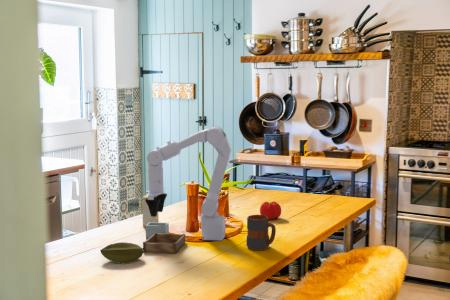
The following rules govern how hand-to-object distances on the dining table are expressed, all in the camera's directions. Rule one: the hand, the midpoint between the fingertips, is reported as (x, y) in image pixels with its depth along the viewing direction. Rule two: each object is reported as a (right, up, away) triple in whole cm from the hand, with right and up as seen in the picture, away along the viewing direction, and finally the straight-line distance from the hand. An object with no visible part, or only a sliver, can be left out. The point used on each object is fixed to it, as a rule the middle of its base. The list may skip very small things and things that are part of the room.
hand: (156, 213), depth 236 cm
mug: (+41, -11, -15) cm, 45 cm away
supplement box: (-5, -7, +21) cm, 23 cm away
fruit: (-9, -14, -27) cm, 32 cm away
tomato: (+48, -6, +29) cm, 56 cm away
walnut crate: (+4, -11, -13) cm, 18 cm away
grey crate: (0, -10, +1) cm, 10 cm away
